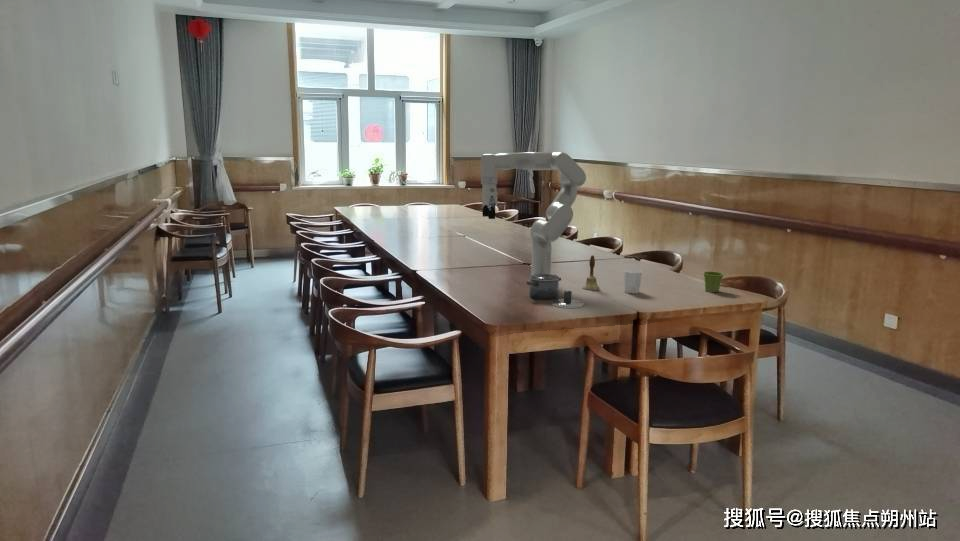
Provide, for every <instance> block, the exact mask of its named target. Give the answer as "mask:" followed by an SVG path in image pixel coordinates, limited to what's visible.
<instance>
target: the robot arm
mask: <svg viewBox="0 0 960 541" xmlns="http://www.w3.org/2000/svg"><path fill="white" fill-rule="evenodd" d="M512 169H513V170H514V169H516V170H524V171H525V170H526V171H559V172H560V174H559V181H560V190H559V192H558V194H557V196H556V197H555V198H554V199H553V201H552V202H551V203H550V205H549V206H548V207H547V208H546V211H545V216H546V218H547V219H548V220H545V219H538V220H535V221H534V222H533V223H532V225H531V227H530V236H531V272H530V273H531V274H530V276H531V275H535V274H550V275H556V276H558V275H557V274H556V273H554V274H553V273H552V271H551V270H552V243H553V242H555V241H557V240H558V239H559V238H560V236H562V234H563V233H564V231H565V230H566V229H567V227H568V226H569V225H570V224H571V222H572V220H573V218H574V210H573V208H572V206H573V205H574V203H575V201H576V198H577V195H578V187H579V188H580V187H582V186H583V185H584V184H585V183H586V181H587V174H586V172H585V171H584V170H583V168H582V167H581V166H580V165H579V164H578V163H577V162H576V161H575V160H574V159H573V158H572V157H571V156H570V155H569V154H568V153H566V152H564V151H563V152H562V151H561V152H560V151H528V152H498V153H496V154H494V153H483V154H482V155H481V157H480V185H482V188H481V189H482V190H481V202H482V203H481V204H482V217H488V218H487V219H488V220H495V219H496V206H497V205H498V189H497V184H498V170H504V171H510V170H512ZM528 281H530V279H529V280H528Z"/></svg>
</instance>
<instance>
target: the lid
mask: <svg viewBox="0 0 960 541" xmlns="http://www.w3.org/2000/svg"><path fill="white" fill-rule="evenodd" d="M550 304H551V305H552V306H554V307H556V308H562V309H578V308H581V306H582V307H584V306H583V305H584V304H585V303H584V302H583V301H582V300H580V299H573V298H572V291H571V290H564V291H563V298H556V299H552V300H551V303H550Z"/></svg>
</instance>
